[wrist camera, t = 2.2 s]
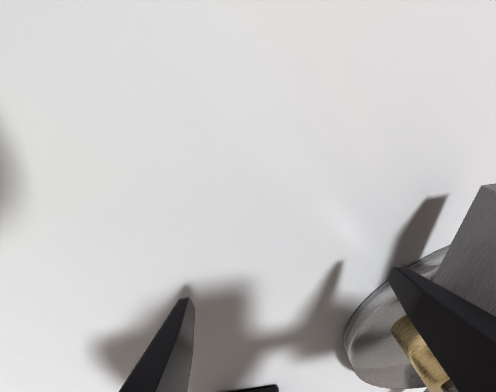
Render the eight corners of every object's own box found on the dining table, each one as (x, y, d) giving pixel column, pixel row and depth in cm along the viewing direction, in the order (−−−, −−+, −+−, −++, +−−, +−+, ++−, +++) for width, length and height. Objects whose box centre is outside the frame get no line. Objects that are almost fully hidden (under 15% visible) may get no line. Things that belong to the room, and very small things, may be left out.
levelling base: (487, 371, 23) (548, 438, 19) (328, 397, 23) (352, 471, 19) (674, 201, 12) (938, 270, 8) (364, 247, 12) (449, 348, 7)
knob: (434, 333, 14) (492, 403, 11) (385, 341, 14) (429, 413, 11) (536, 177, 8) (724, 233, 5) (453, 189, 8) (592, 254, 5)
